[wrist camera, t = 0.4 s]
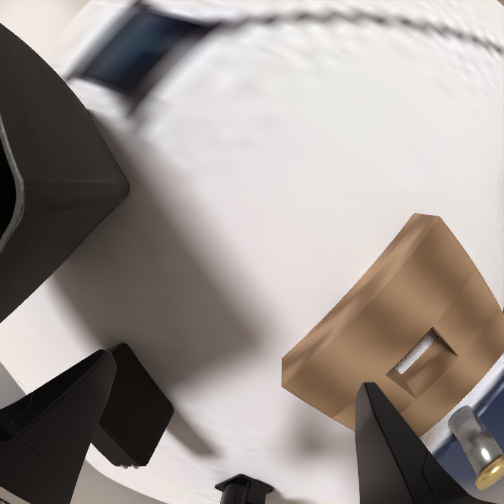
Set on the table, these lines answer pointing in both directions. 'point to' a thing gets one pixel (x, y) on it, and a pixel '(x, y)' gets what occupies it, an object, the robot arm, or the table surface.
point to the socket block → (403, 332)
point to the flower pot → (46, 172)
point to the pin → (478, 446)
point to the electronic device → (131, 414)
